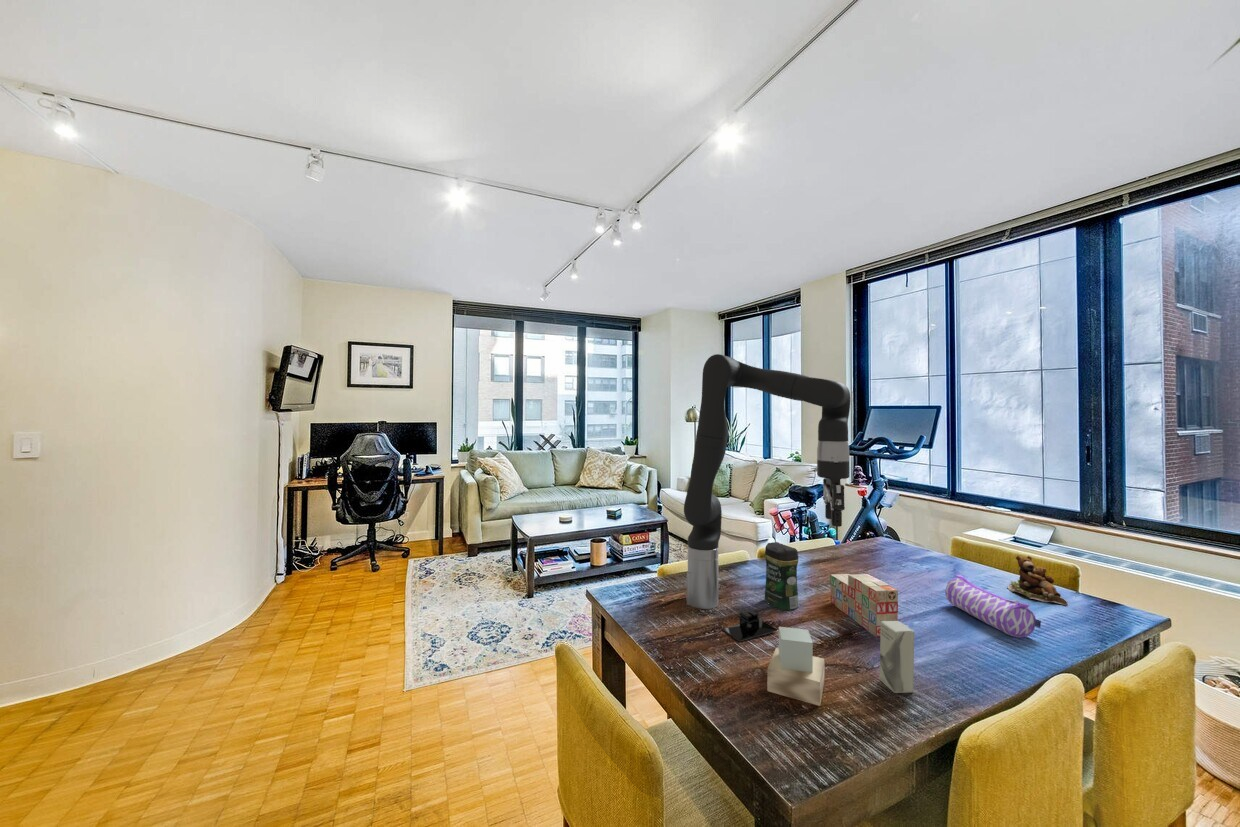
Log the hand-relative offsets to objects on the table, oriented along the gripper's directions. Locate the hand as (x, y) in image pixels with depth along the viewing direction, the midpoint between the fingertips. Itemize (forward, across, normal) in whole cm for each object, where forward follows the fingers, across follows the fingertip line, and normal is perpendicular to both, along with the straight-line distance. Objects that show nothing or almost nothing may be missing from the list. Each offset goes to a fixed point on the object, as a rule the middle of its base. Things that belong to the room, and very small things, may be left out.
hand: (833, 522), depth 116 cm
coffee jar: (+30, -20, -11) cm, 38 cm away
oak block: (+30, +23, -11) cm, 40 cm away
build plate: (+32, +1, -20) cm, 37 cm away
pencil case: (+30, -25, +44) cm, 59 cm away
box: (+30, +18, +9) cm, 36 cm away
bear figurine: (+31, -51, +70) cm, 92 cm away
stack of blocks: (+30, -16, +10) cm, 36 cm away
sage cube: (+26, +23, -12) cm, 36 cm away
